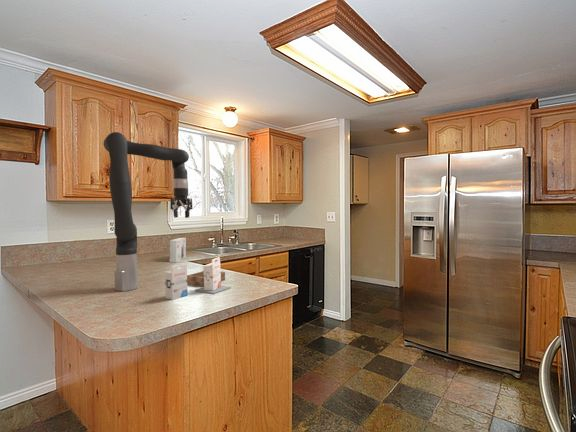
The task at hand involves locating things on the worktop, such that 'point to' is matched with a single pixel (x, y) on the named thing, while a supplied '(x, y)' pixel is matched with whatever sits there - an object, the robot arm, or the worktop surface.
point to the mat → (220, 289)
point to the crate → (200, 278)
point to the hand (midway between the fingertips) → (181, 217)
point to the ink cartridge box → (212, 275)
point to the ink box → (176, 282)
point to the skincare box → (177, 249)
